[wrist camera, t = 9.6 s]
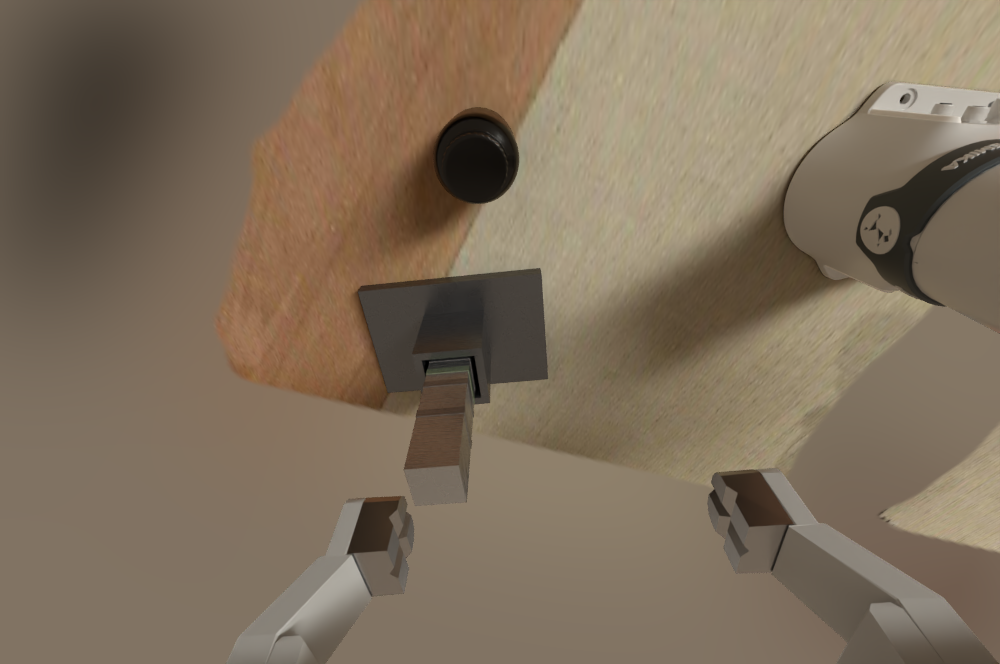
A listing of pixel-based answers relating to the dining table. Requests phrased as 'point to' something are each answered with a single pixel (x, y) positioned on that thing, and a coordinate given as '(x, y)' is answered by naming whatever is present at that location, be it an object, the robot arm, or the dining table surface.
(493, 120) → the supplement bottle
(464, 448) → the column
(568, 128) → the dining table surface
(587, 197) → the dining table surface
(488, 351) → the stand
